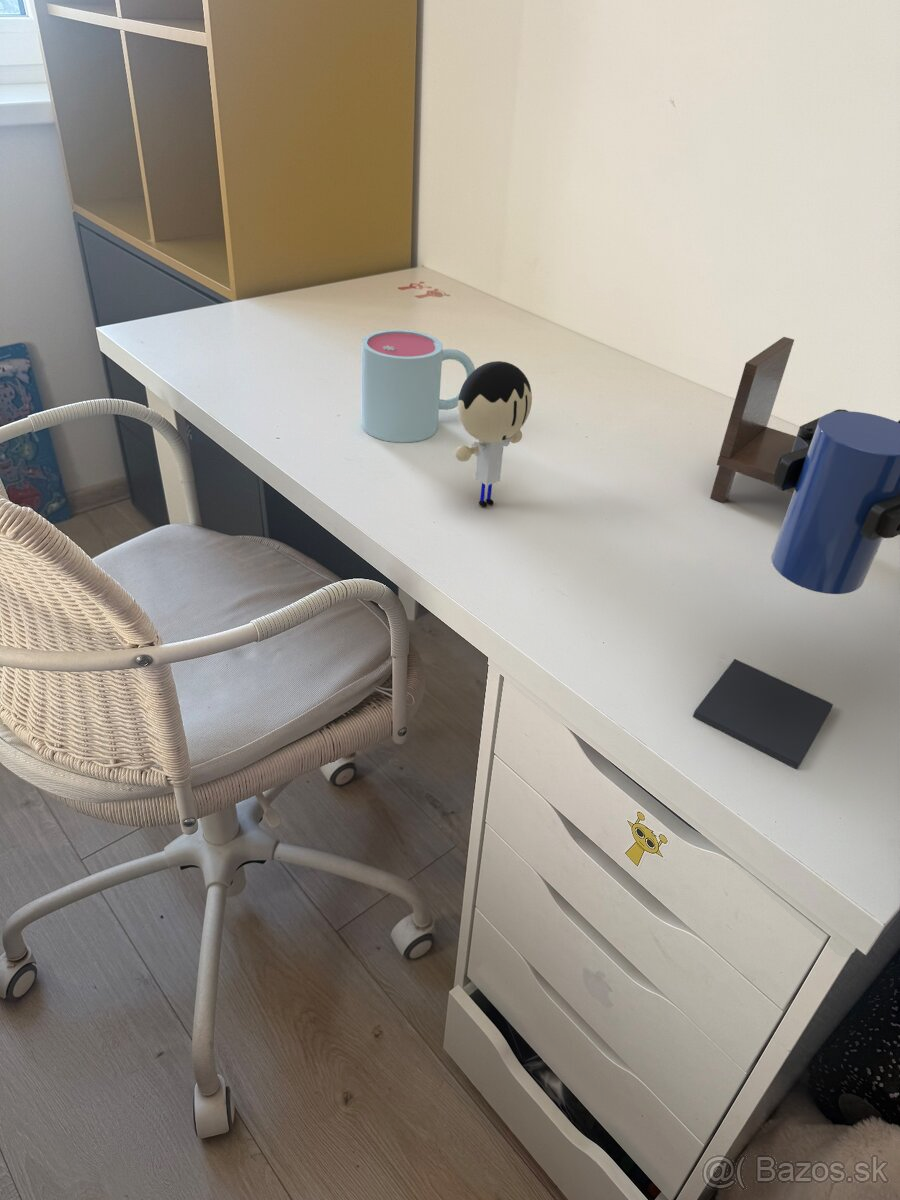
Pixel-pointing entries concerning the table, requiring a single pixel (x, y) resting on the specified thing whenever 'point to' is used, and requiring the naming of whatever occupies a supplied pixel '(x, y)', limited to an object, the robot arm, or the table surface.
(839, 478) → the canister
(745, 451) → the miniature wooden chair
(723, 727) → the mat
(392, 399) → the mug
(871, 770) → the table surface
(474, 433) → the toy
